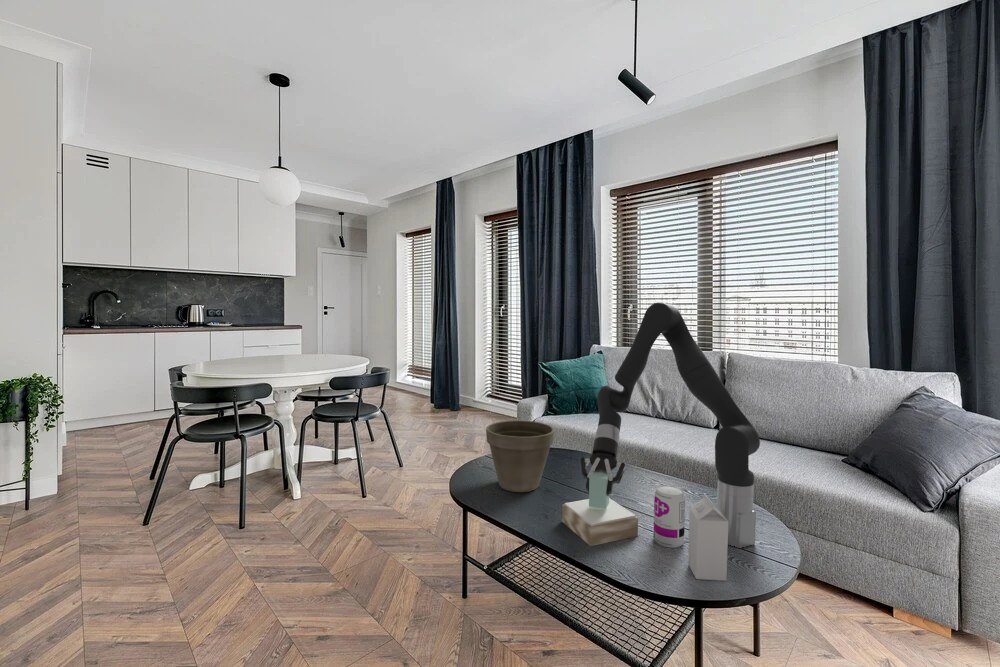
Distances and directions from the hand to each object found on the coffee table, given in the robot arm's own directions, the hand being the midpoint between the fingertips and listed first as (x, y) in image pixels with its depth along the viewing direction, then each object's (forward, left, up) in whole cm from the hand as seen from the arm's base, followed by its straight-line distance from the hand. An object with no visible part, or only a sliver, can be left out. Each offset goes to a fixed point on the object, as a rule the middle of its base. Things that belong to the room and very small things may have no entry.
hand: (598, 493), depth 142 cm
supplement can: (-13, -15, -12) cm, 23 cm away
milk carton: (-29, -13, -12) cm, 34 cm away
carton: (+1, -1, -4) cm, 5 cm away
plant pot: (+41, +7, -12) cm, 43 cm away
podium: (+1, -1, -12) cm, 12 cm away
